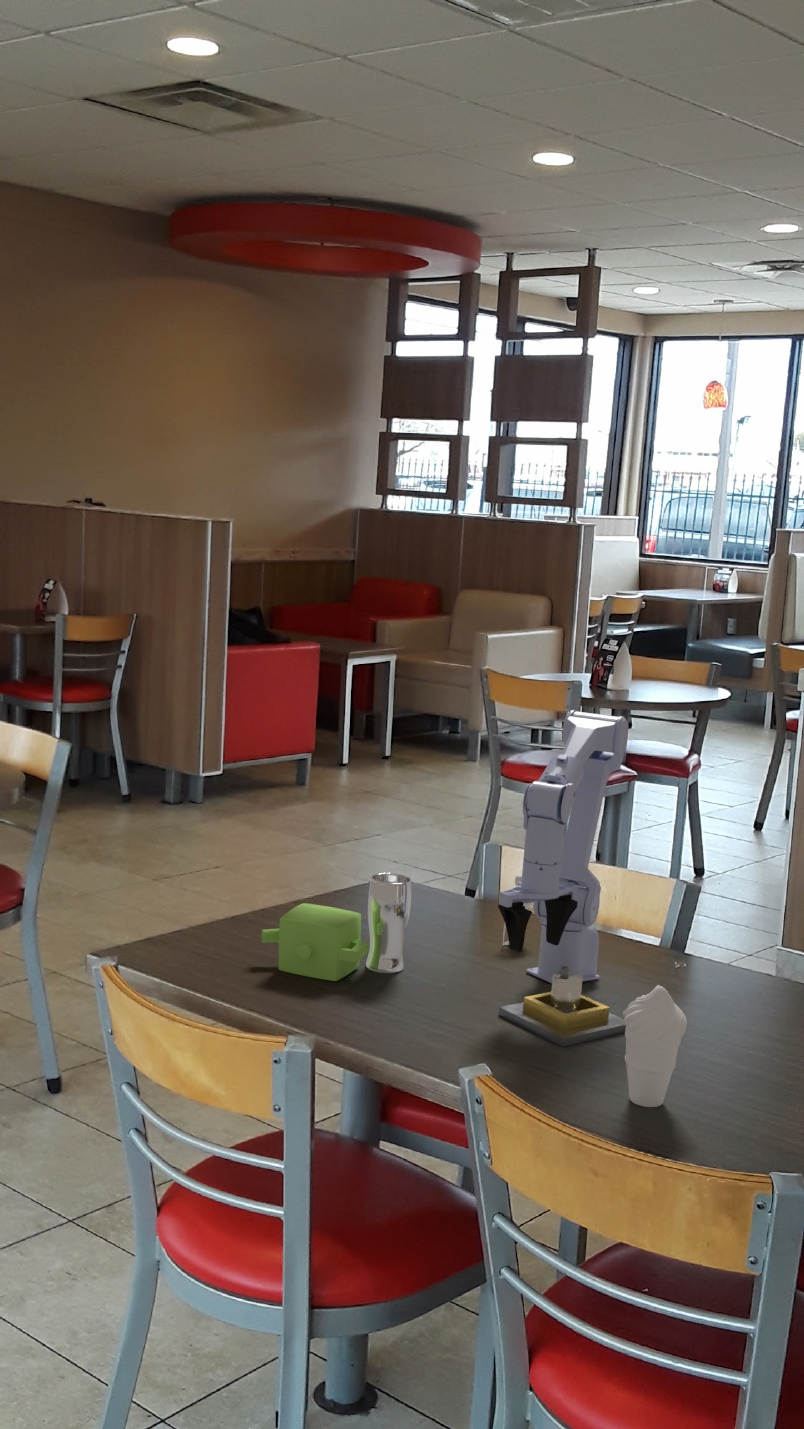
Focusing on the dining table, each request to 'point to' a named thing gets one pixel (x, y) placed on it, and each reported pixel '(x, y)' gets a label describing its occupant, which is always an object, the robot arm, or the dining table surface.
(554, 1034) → the fill port
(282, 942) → the gearbox
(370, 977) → the dining table surface
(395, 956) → the beer glass
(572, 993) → the spout can
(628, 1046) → the soft serve ice cream cone
